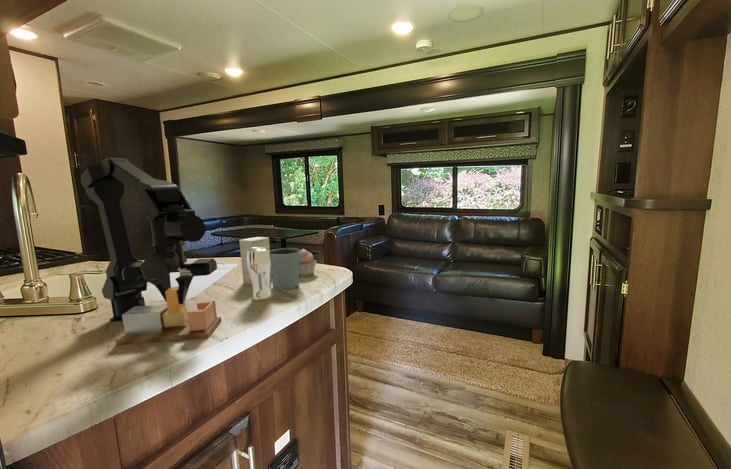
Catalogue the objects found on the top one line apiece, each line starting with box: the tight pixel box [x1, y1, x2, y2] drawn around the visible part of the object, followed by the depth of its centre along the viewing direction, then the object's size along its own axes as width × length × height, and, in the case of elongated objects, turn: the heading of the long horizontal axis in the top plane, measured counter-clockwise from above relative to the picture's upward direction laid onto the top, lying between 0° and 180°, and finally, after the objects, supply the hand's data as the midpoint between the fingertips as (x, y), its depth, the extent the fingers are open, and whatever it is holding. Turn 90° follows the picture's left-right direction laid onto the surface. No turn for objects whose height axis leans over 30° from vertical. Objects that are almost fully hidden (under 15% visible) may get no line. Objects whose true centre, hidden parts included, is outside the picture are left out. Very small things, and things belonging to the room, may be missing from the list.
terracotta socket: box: [187, 300, 218, 331], centre depth 80 cm, size 4×7×5 cm, turn 6°
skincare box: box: [238, 236, 273, 286], centre depth 117 cm, size 8×7×16 cm
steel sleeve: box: [122, 303, 168, 335], centre depth 79 cm, size 8×5×5 cm, turn 96°
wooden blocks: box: [160, 286, 189, 327], centre depth 79 cm, size 12×3×9 cm, turn 96°
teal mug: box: [270, 247, 301, 291], centre depth 112 cm, size 10×10×12 cm
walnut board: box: [114, 316, 222, 346], centre depth 80 cm, size 20×9×1 cm, turn 96°
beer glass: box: [247, 247, 274, 301], centre depth 101 cm, size 7×7×15 cm
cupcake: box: [299, 248, 318, 278], centre depth 124 cm, size 9×9×10 cm
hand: (176, 303), depth 79 cm, fingers closed on wooden blocks, 2 cm apart
